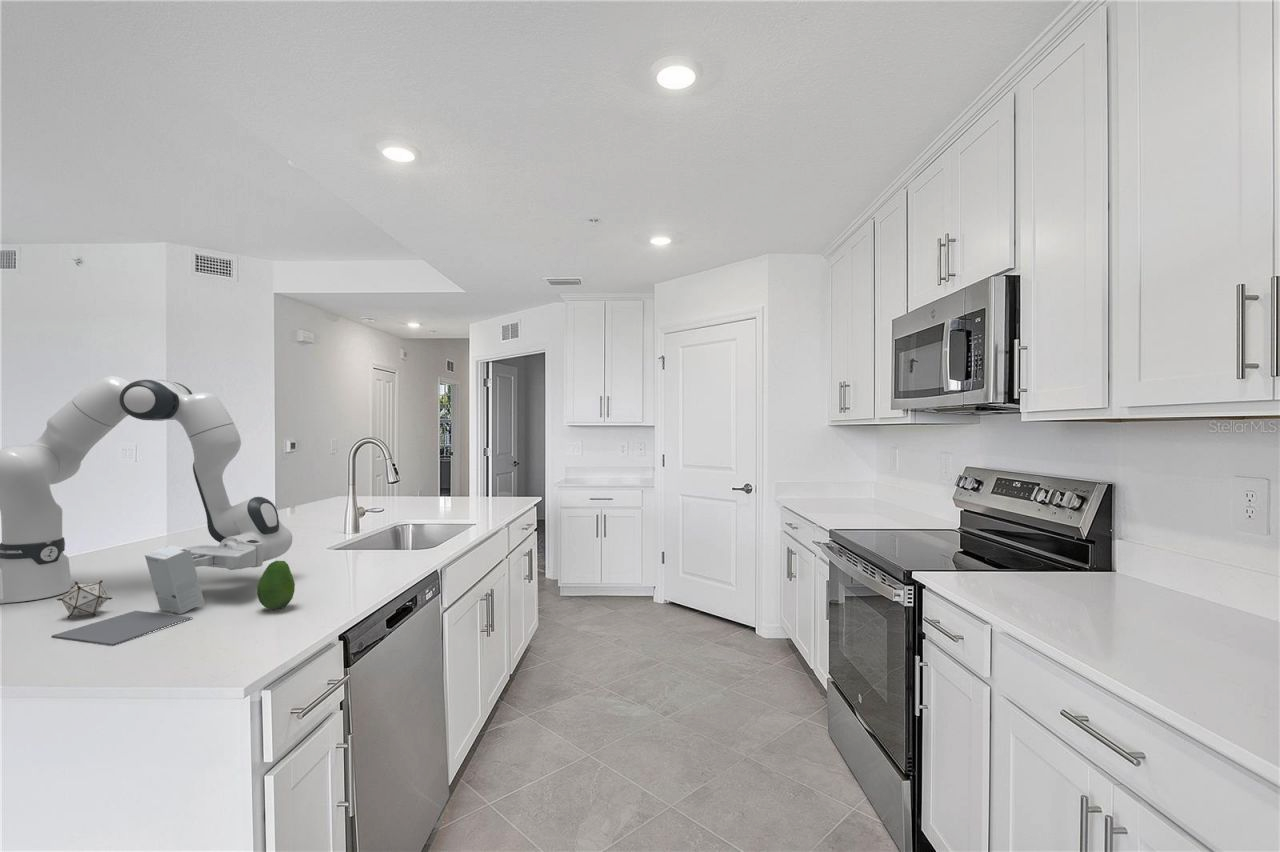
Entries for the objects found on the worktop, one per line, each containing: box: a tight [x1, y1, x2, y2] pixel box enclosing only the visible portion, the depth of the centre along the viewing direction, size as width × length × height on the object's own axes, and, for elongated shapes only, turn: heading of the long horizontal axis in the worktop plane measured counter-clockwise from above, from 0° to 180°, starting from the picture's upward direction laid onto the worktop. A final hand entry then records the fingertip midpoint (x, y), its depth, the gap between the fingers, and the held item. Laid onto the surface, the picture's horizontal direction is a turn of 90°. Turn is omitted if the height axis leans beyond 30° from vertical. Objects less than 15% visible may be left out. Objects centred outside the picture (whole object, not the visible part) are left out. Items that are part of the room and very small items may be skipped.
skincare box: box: [144, 544, 205, 615], centre depth 144 cm, size 8×6×15 cm
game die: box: [56, 579, 114, 619], centre depth 140 cm, size 9×8×10 cm
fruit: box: [256, 560, 296, 611], centre depth 147 cm, size 8×8×12 cm
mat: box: [51, 610, 193, 647], centre depth 133 cm, size 17×17×1 cm
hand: (186, 564), depth 146 cm, fingers closed
